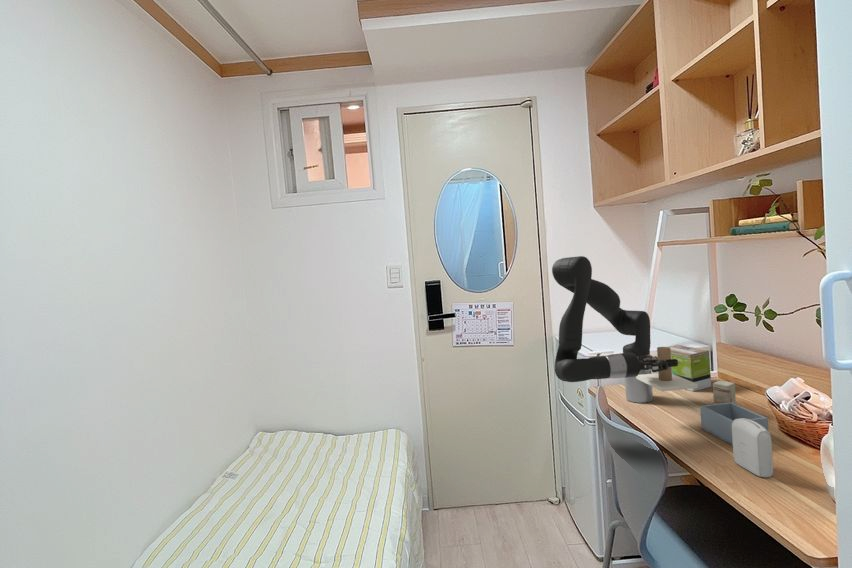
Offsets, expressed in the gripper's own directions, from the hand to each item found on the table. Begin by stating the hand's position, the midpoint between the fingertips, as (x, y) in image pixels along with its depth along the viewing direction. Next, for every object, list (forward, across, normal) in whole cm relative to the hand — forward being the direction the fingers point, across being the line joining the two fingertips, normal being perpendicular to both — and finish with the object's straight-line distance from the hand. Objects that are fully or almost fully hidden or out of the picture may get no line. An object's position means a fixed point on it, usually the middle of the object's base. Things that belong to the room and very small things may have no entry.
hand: (673, 361), depth 156 cm
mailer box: (+10, -12, +20) cm, 26 cm away
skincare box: (+20, +5, +20) cm, 29 cm away
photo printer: (+1, -33, +21) cm, 39 cm away
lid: (-3, 0, +7) cm, 7 cm away
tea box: (+26, +37, +20) cm, 50 cm away
